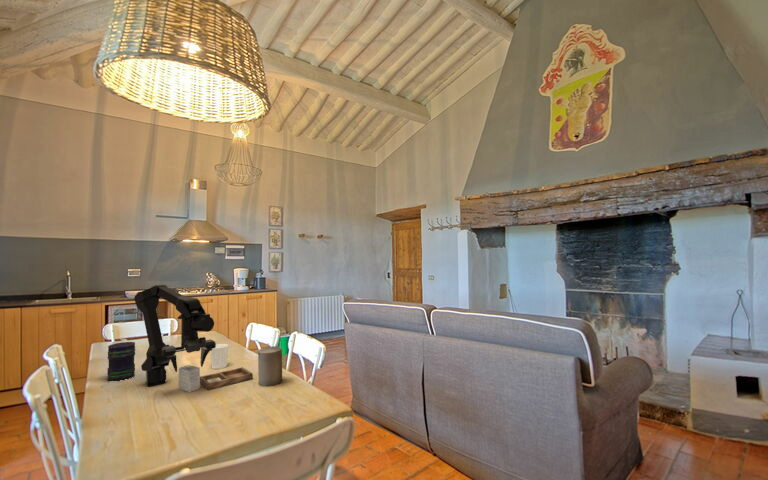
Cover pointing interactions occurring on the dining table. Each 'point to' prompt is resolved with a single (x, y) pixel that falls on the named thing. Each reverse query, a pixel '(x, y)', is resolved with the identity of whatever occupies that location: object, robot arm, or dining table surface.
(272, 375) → the pillar candle
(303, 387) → the dining table surface
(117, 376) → the storage jar
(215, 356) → the white cup
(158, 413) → the dining table surface
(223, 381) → the tray
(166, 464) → the dining table surface
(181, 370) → the medicine box
